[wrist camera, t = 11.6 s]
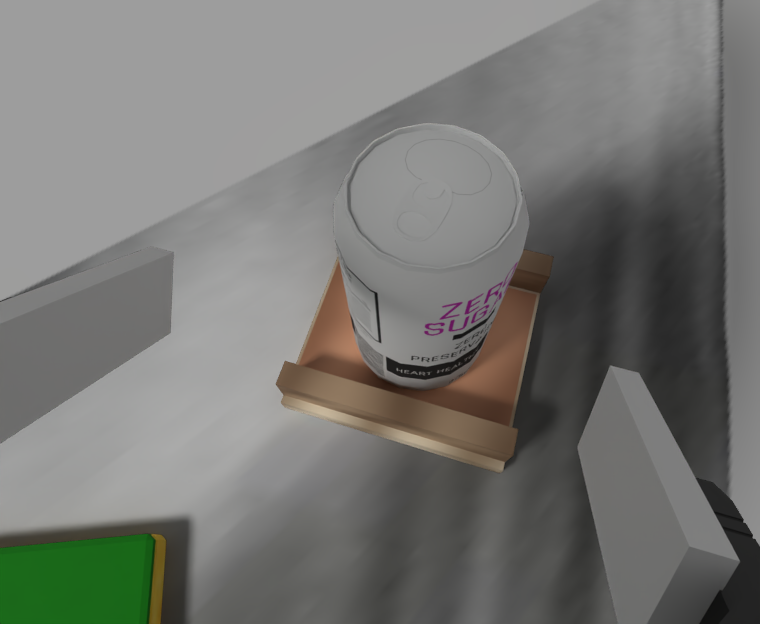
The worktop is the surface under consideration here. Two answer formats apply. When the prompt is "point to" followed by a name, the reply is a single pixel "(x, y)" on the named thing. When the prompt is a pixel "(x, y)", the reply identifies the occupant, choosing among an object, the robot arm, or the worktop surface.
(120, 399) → the worktop surface
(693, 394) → the worktop surface
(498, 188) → the supplement can
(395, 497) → the worktop surface
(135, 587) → the dish sponge
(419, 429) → the groove board
